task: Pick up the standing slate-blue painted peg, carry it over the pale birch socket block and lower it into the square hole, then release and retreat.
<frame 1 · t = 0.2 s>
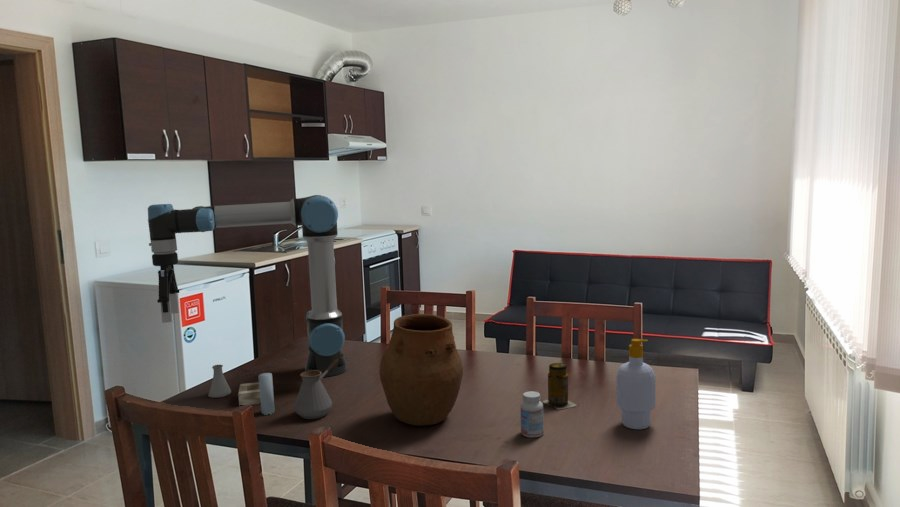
hand: (170, 317, 210), 28 cm above the table, fingers open, 13 cm apart
peg: (268, 412, 199), on the table
soap bottle: (636, 425, 179), on the table
pot: (423, 420, 188), on the table
socket block: (256, 398, 211), on the table
pill bottle: (532, 434, 176), on the table
coffee pot: (324, 409, 200), on the table
flask: (220, 395, 217), on the table
condiment: (559, 404, 197), on the table
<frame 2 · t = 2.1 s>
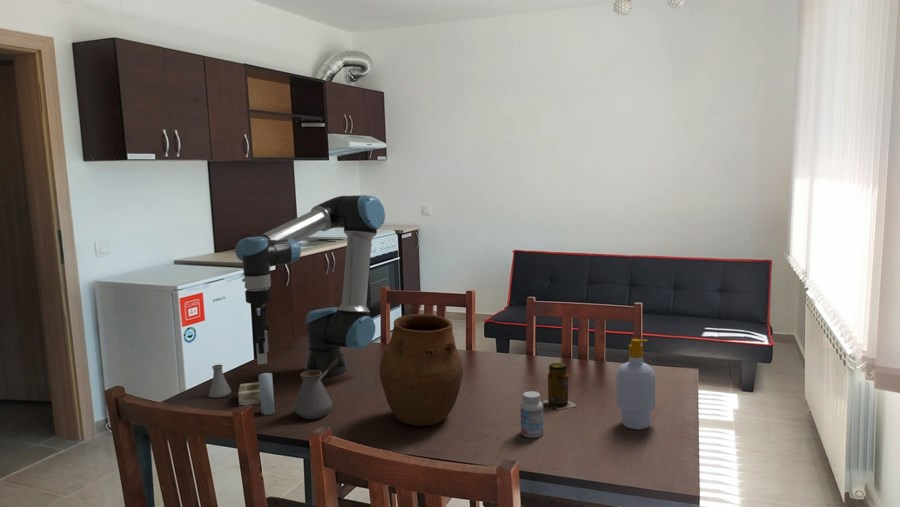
hand: (263, 357, 196), 17 cm above the table, fingers open, 13 cm apart
nothing on the table moved.
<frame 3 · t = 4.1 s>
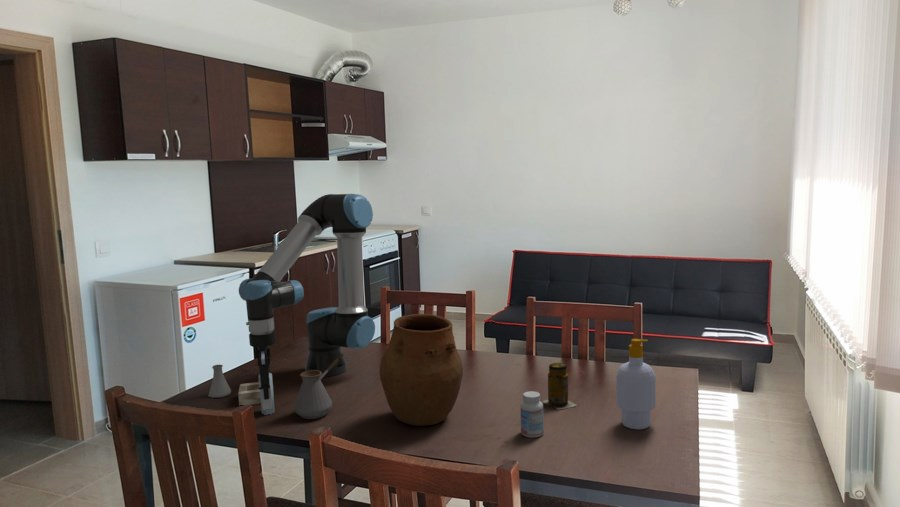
hand: (267, 405, 199), 2 cm above the table, fingers closed on peg, 4 cm apart
peg: (268, 412, 199), on the table, touching gripper
everything else where it was.
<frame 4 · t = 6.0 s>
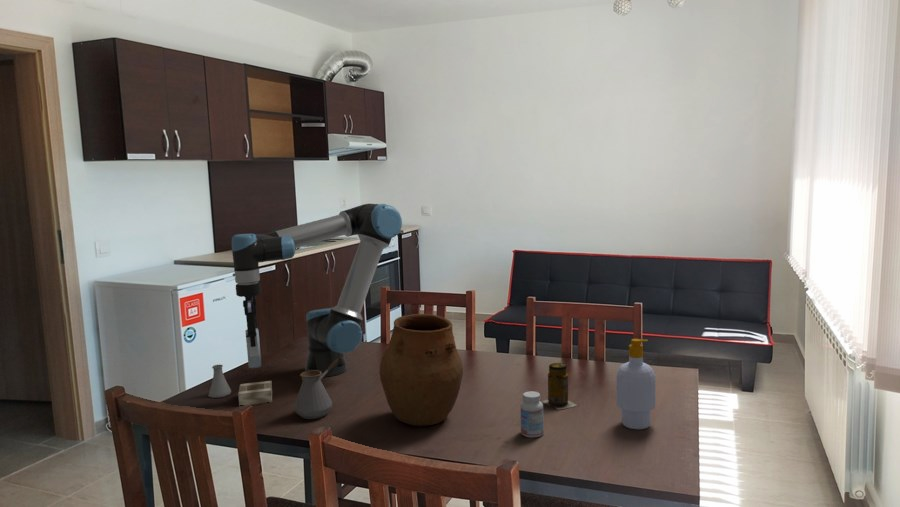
hand: (254, 353, 209), 15 cm above the table, fingers closed on peg, 4 cm apart
peg: (255, 366, 209), point 11 cm above the table, touching gripper
everything else where it was.
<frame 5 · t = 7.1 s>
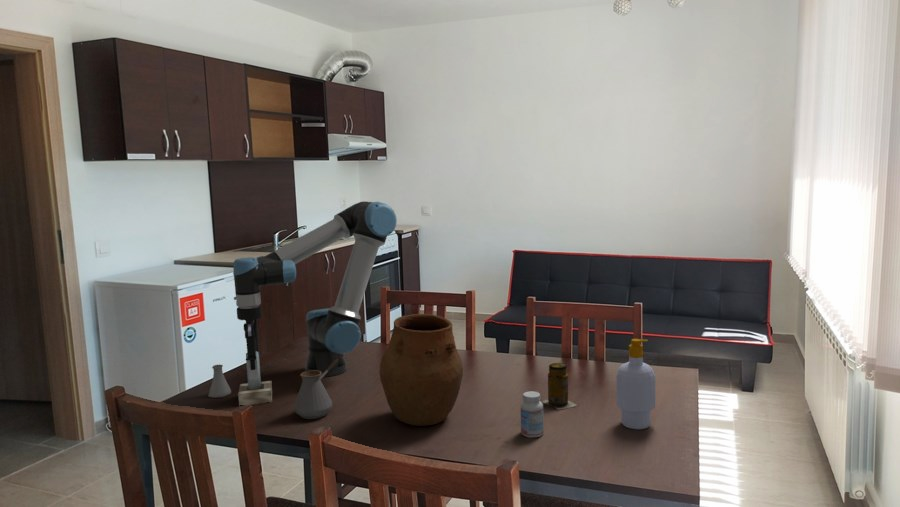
hand: (254, 376, 210), 8 cm above the table, fingers closed on peg, 4 cm apart
peg: (254, 388, 211), point 3 cm above the table, touching gripper
everything else where it was.
when the fingers open (5 cm above the table, at t = 7.8 s): peg stays where it is, resting in socket block.
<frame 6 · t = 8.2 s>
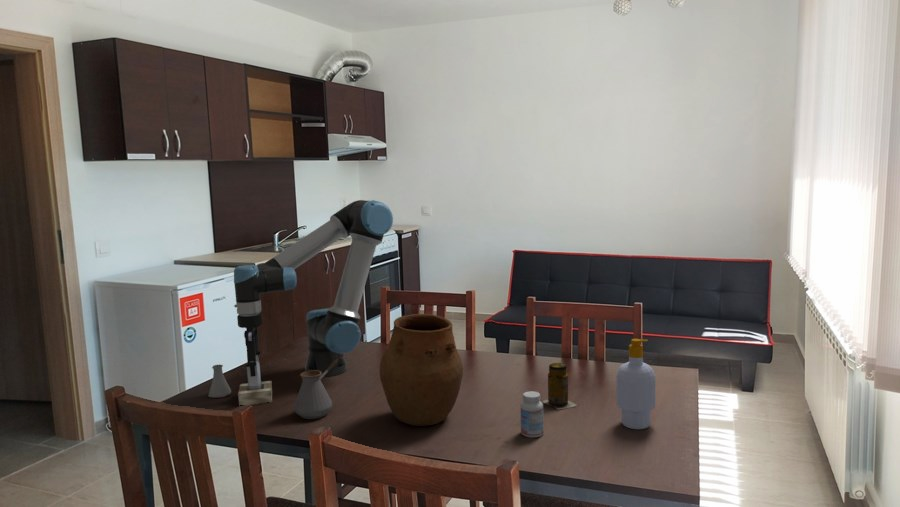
hand: (254, 380, 210), 6 cm above the table, fingers open, 10 cm apart
peg: (255, 398, 211), resting in socket block
everything else where it was.
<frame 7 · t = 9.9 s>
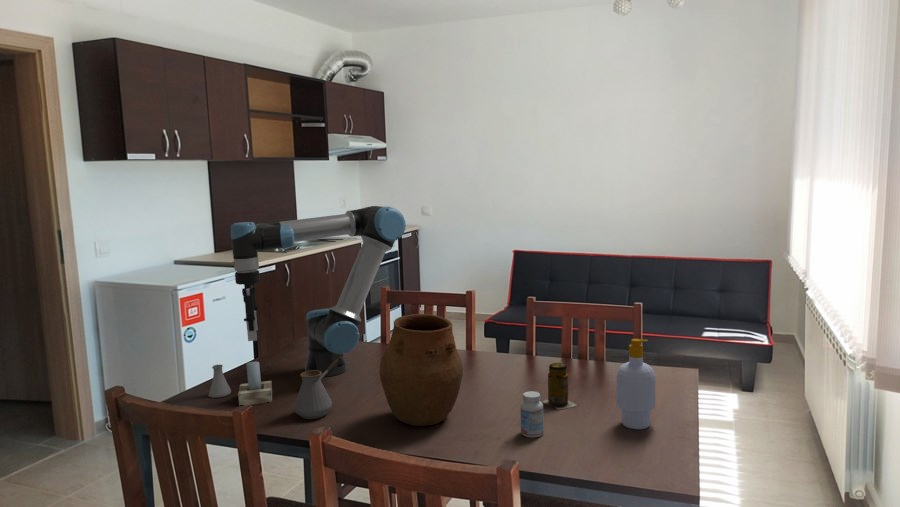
hand: (253, 335, 210), 21 cm above the table, fingers open, 13 cm apart
nothing on the table moved.
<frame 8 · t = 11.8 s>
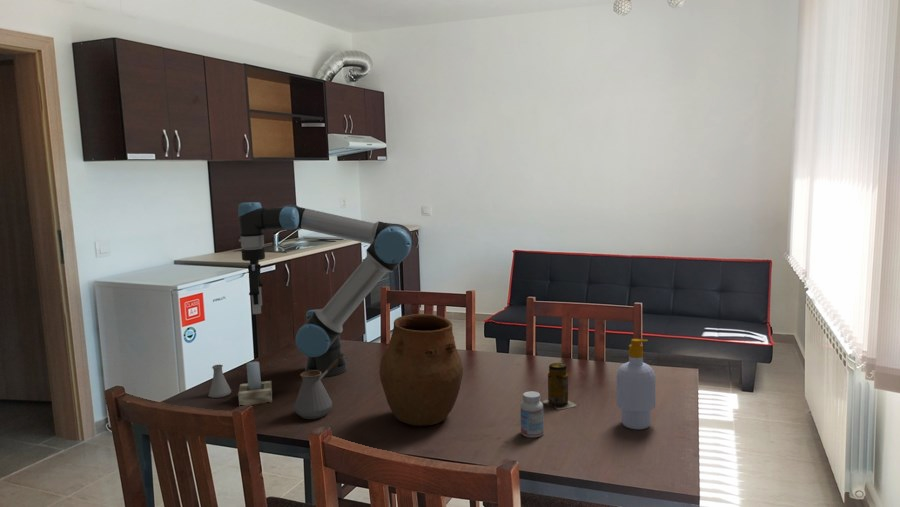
hand: (257, 309, 222), 27 cm above the table, fingers open, 13 cm apart
nothing on the table moved.
at the end: peg 0.1 cm off-centre on the socket block, point 0.0 cm above the socket block's base; peg tilted 1°; the gripper is holding nothing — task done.
